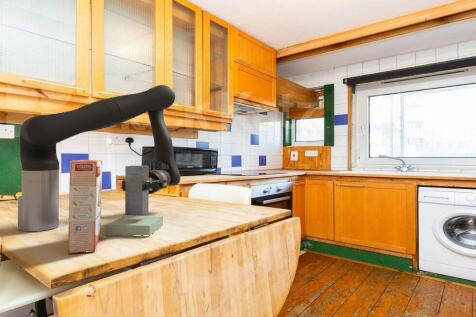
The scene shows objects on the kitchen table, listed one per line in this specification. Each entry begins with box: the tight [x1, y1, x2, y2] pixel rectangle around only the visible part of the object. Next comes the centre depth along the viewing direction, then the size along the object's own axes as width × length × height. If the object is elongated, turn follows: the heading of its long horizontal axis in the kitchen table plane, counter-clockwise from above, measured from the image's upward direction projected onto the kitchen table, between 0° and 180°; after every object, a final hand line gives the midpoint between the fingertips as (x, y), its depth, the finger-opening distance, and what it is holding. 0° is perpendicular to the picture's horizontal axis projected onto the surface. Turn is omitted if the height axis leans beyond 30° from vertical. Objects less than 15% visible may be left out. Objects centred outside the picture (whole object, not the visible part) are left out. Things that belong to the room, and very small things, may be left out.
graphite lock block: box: [124, 165, 150, 216], centre depth 85 cm, size 5×5×14 cm
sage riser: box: [105, 215, 164, 237], centre depth 85 cm, size 12×12×3 cm
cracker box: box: [67, 159, 103, 255], centre depth 71 cm, size 14×6×21 cm, turn 21°
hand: (133, 187), depth 82 cm, fingers closed on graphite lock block, 5 cm apart
